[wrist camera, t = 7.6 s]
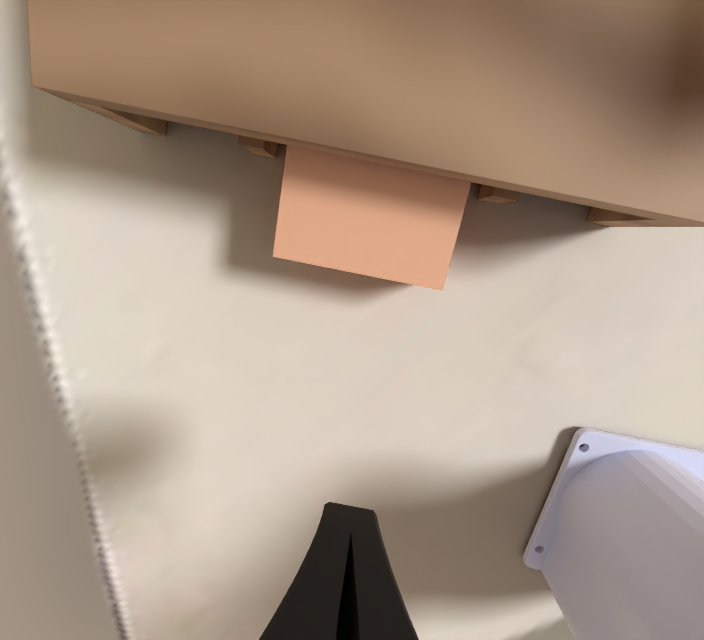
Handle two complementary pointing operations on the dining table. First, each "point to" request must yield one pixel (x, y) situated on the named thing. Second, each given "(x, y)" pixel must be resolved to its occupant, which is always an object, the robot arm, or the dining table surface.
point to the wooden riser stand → (413, 87)
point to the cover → (368, 217)
